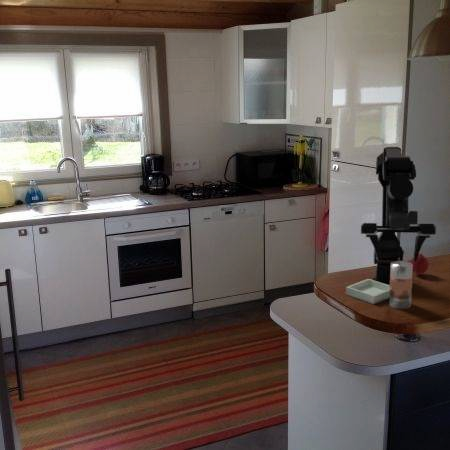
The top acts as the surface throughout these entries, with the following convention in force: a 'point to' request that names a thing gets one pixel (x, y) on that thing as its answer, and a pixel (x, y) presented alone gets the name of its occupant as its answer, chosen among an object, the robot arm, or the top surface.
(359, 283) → the pale green square tray
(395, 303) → the tin
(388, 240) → the robot arm
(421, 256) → the onion
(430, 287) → the top surface
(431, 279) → the top surface
